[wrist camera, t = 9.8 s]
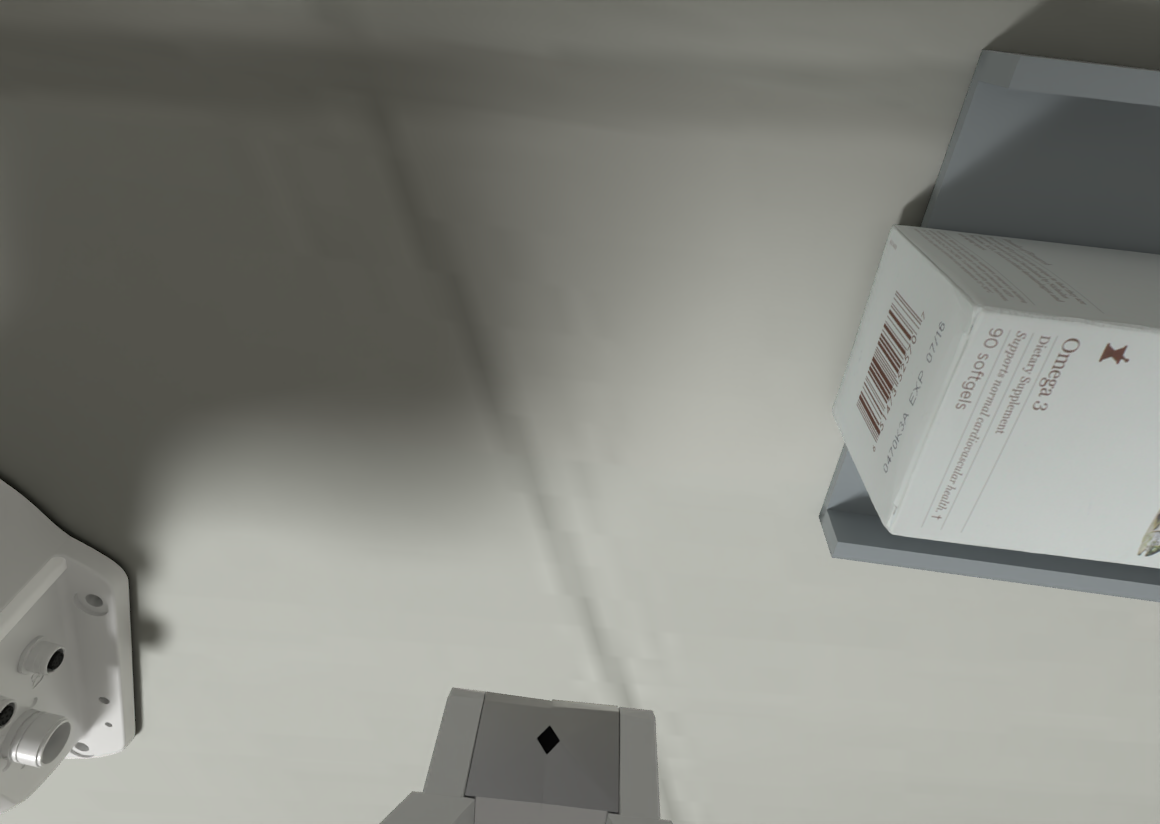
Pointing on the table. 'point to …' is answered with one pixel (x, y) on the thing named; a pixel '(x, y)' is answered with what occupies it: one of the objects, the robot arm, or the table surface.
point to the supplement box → (1010, 395)
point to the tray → (1042, 213)
